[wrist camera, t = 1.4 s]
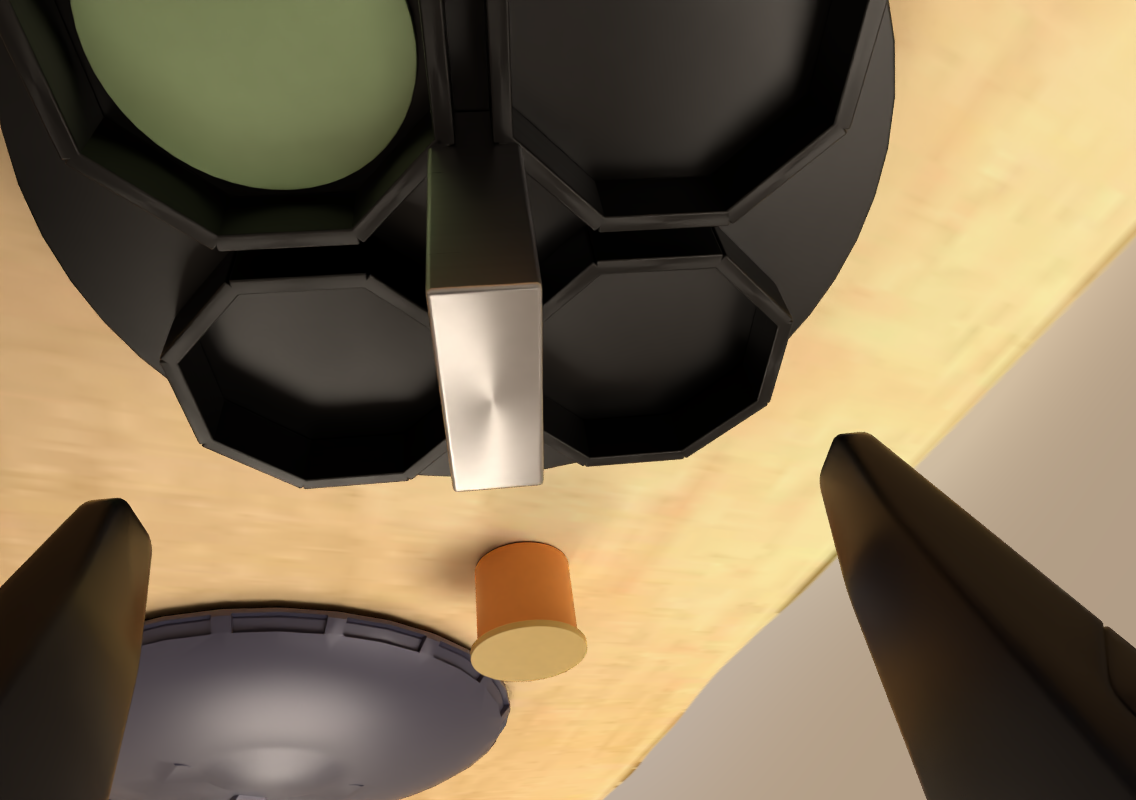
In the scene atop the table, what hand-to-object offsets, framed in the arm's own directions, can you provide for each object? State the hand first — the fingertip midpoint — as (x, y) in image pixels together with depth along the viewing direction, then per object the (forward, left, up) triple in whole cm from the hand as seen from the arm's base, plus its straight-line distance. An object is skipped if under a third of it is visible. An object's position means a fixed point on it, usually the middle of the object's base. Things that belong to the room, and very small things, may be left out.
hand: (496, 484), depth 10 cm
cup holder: (-1, -1, -10) cm, 10 cm away
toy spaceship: (-34, -15, -12) cm, 39 cm away
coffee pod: (-14, -15, -12) cm, 24 cm away
